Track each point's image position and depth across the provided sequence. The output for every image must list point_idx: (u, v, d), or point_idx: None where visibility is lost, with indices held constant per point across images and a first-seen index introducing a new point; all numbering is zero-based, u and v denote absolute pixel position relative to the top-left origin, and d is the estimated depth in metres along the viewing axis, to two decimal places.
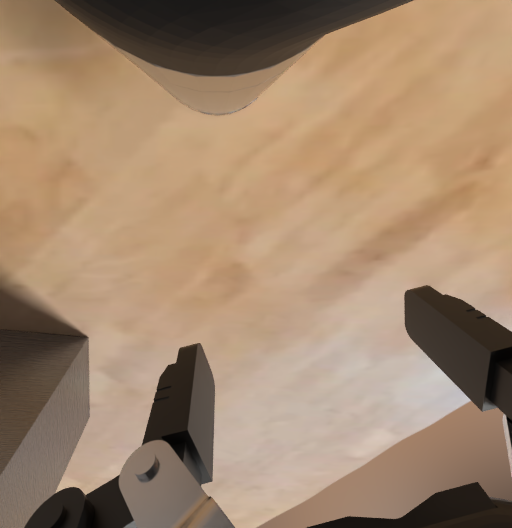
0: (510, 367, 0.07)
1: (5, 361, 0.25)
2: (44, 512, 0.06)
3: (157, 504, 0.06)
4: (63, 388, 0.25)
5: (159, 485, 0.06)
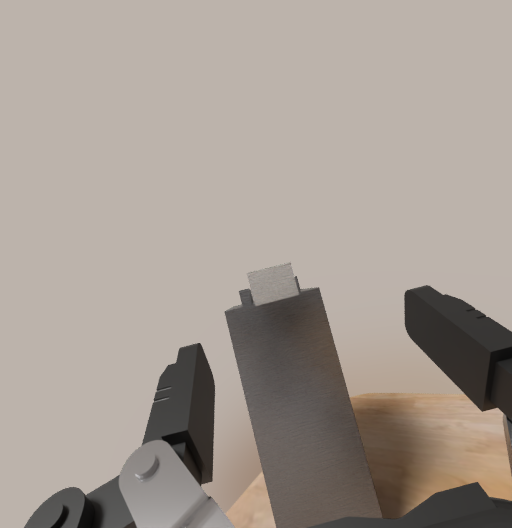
0: (510, 367, 0.07)
1: None
2: (44, 513, 0.06)
3: (157, 504, 0.06)
4: (370, 517, 0.32)
5: (159, 486, 0.06)
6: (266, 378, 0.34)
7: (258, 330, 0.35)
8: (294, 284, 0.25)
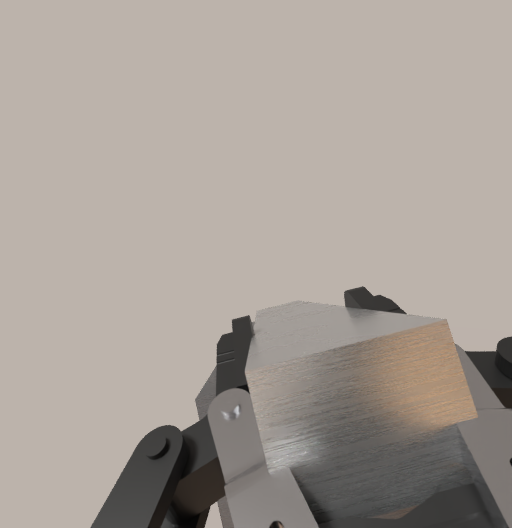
0: None
1: None
2: (152, 440, 0.07)
3: (250, 434, 0.06)
4: None
5: (238, 427, 0.07)
6: None
7: None
8: None
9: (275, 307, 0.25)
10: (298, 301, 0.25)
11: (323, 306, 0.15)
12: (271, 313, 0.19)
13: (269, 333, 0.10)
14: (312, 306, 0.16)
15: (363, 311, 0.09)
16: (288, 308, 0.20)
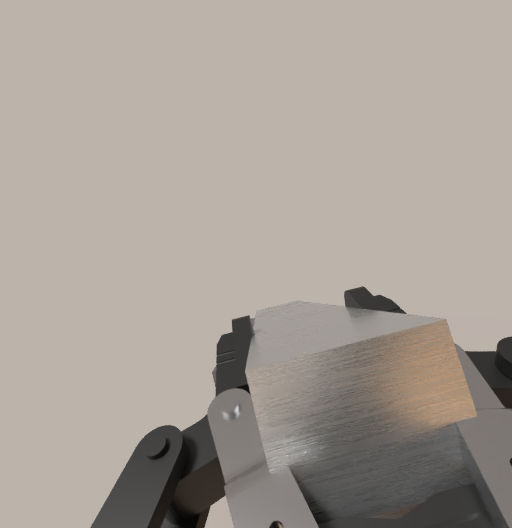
0: None
1: None
2: (152, 441, 0.07)
3: (250, 434, 0.06)
4: None
5: (238, 427, 0.07)
6: None
7: None
8: None
9: (275, 307, 0.25)
10: (298, 301, 0.25)
11: (323, 306, 0.15)
12: (271, 313, 0.19)
13: (269, 333, 0.10)
14: (312, 306, 0.16)
15: (363, 311, 0.09)
16: (288, 308, 0.20)
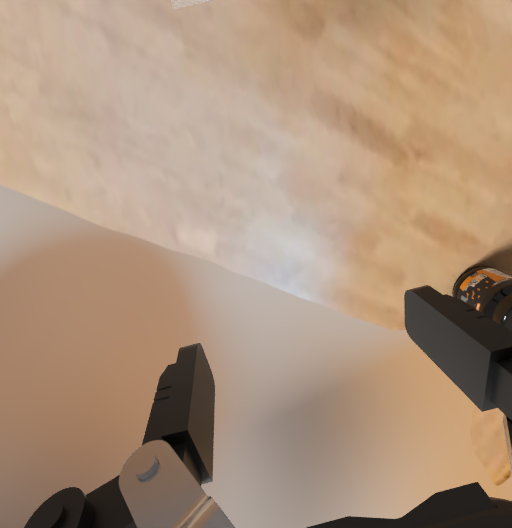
0: (510, 367, 0.07)
1: None
2: (44, 513, 0.06)
3: (157, 504, 0.06)
4: None
5: (159, 486, 0.06)
6: None
7: None
8: None
9: None
10: None
11: None
12: None
13: None
14: None
15: None
16: None
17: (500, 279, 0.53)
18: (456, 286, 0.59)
